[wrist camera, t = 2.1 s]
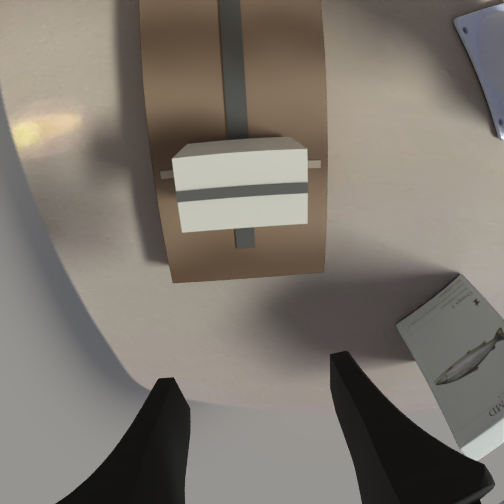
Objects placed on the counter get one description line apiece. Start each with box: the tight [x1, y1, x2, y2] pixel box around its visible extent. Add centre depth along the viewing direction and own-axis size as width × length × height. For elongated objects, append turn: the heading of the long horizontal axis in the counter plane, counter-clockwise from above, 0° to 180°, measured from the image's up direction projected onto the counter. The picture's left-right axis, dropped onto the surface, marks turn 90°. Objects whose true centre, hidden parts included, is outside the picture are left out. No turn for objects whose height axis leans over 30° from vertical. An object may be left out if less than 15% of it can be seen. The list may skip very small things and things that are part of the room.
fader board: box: [139, 0, 328, 283], centre depth 14 cm, size 26×9×2 cm, turn 3°
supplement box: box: [396, 274, 504, 461], centre depth 19 cm, size 7×7×13 cm
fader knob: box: [172, 137, 308, 233], centre depth 14 cm, size 3×5×4 cm, turn 93°
